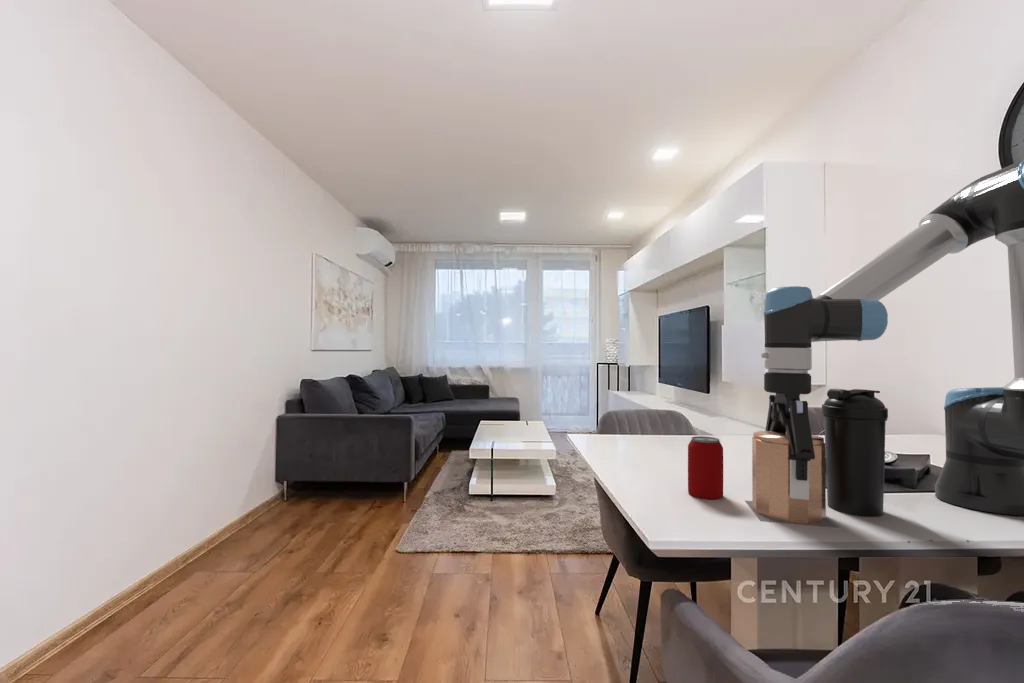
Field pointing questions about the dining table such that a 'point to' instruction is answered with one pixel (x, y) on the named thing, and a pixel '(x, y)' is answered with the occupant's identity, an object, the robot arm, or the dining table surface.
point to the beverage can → (705, 468)
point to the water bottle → (855, 451)
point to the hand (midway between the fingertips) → (786, 488)
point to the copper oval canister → (786, 480)
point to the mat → (762, 518)
